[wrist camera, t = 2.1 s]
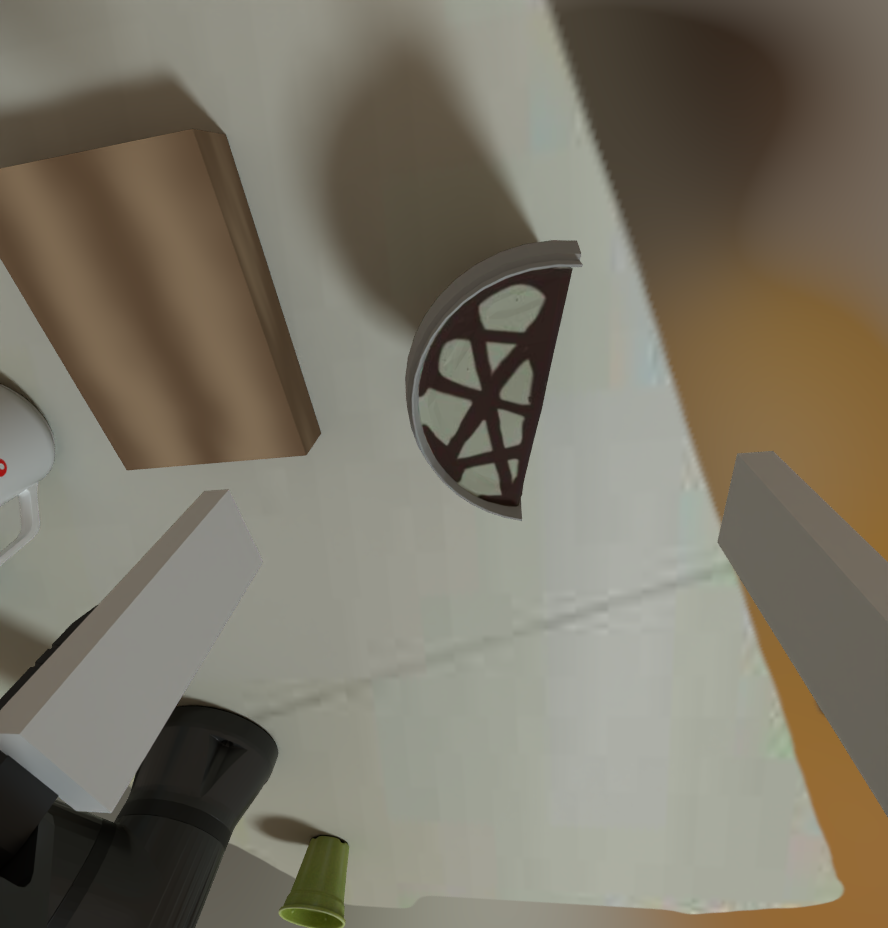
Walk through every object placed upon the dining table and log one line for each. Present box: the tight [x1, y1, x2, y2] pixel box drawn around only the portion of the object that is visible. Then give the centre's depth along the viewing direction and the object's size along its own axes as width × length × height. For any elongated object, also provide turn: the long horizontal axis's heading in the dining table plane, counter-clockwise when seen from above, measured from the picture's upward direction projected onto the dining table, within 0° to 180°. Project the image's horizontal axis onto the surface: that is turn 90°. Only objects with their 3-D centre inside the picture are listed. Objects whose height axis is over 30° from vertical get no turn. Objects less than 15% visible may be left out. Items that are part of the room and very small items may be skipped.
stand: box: [0, 129, 321, 470], centre depth 27 cm, size 13×17×3 cm
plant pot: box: [279, 836, 349, 928], centre depth 67 cm, size 9×9×9 cm
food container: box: [405, 240, 583, 521], centre depth 23 cm, size 12×6×10 cm, turn 175°
